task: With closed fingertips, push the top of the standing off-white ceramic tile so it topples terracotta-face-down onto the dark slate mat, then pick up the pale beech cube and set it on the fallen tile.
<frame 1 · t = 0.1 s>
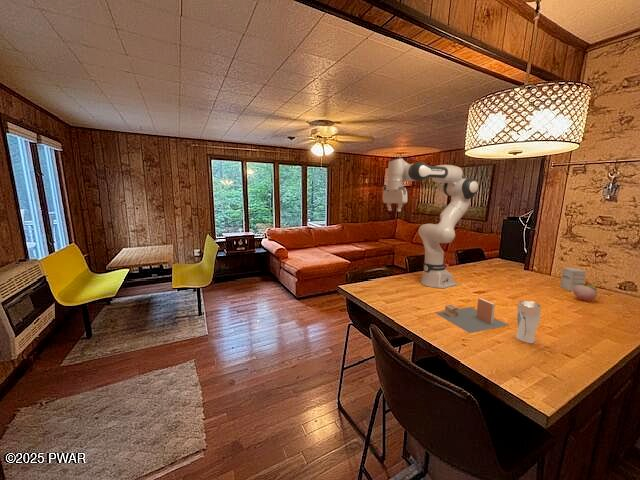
hand: (394, 211, 152), 48 cm above the kitchen island, fingers open, 8 cm apart
decorative fruit: (583, 300, 140), on the kitchen island
supplement box: (571, 289, 158), on the kitchen island
beech cube: (451, 314, 123), point 1 cm above the kitchen island, touching mat
tile: (484, 320, 117), point 1 cm above the kitchen island, touching mat
mat: (470, 319, 119), on the kitchen island
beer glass: (524, 340, 102), on the kitchen island
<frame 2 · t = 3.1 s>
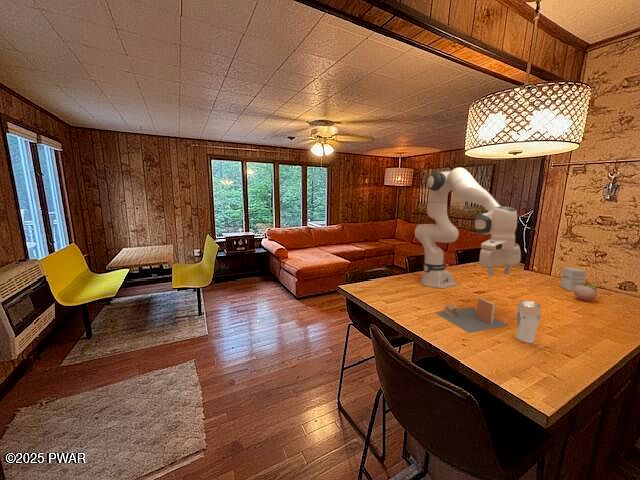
hand: (498, 274, 116), 21 cm above the kitchen island, fingers open, 8 cm apart
nothing on the kitchen island moved.
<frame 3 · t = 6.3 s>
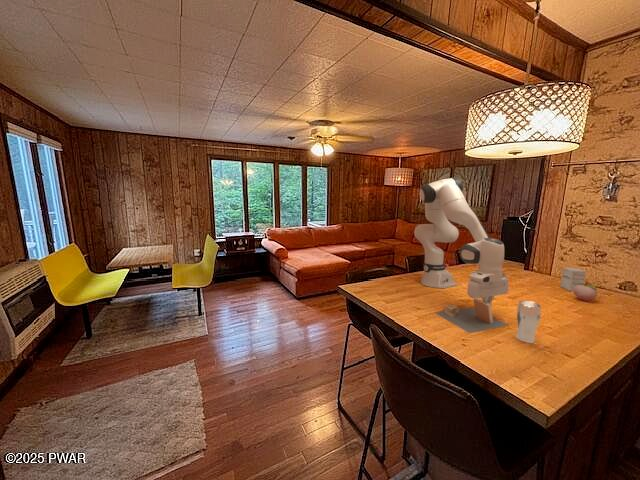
hand: (486, 305, 116), 8 cm above the kitchen island, fingers closed
tile: (484, 319, 117), point 1 cm above the kitchen island, tilted 17°, touching mat
everything else where it was.
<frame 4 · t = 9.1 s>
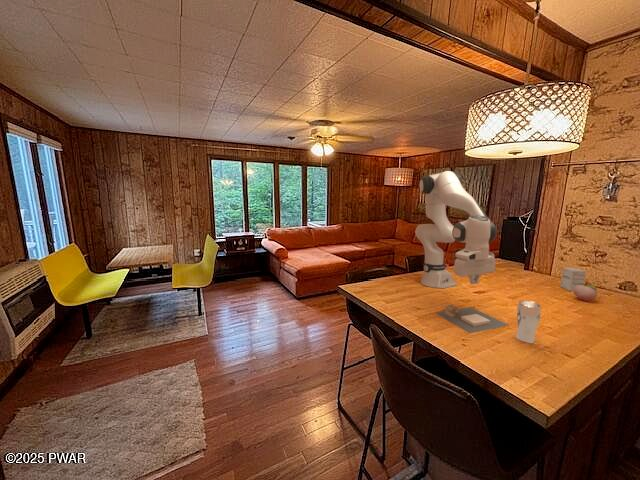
hand: (473, 283, 115), 18 cm above the kitchen island, fingers closed
tile: (483, 318, 117), point 1 cm above the kitchen island, tilted 90°, touching mat
everything else where it was.
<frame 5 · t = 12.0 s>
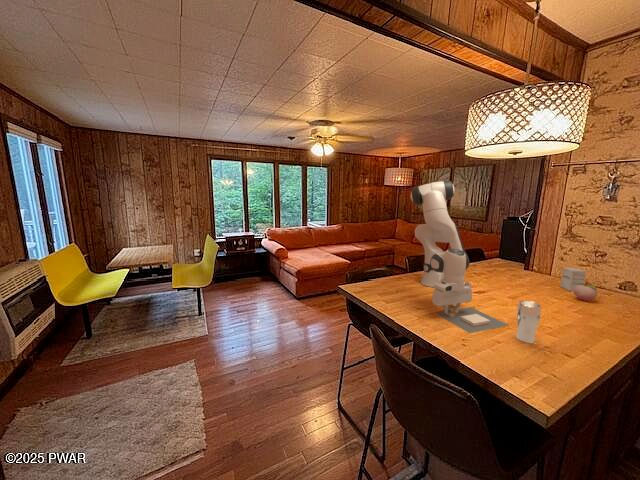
hand: (451, 312, 123), 2 cm above the kitchen island, fingers closed on beech cube, 4 cm apart
beech cube: (451, 314, 123), point 1 cm above the kitchen island, touching gripper, mat
everything else where it was.
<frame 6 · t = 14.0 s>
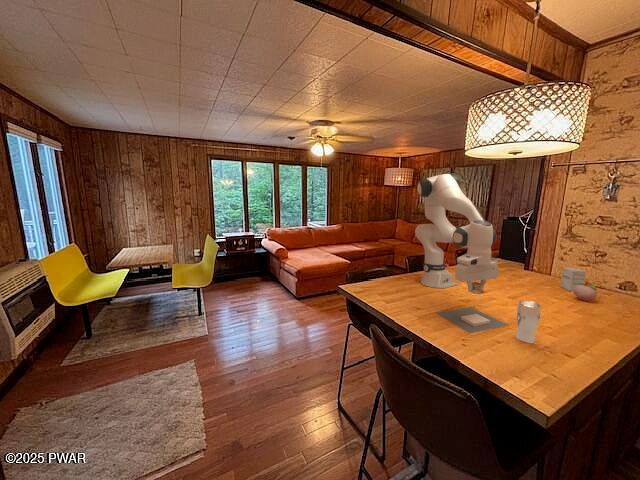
hand: (475, 289, 113), 16 cm above the kitchen island, fingers closed on beech cube, 4 cm apart
beech cube: (475, 292, 114), point 14 cm above the kitchen island, touching gripper
everything else where it was.
when the fingers open (5 cm above the kitchen island, at t = 16.3 s): beech cube drops 1 cm, resting on tile.
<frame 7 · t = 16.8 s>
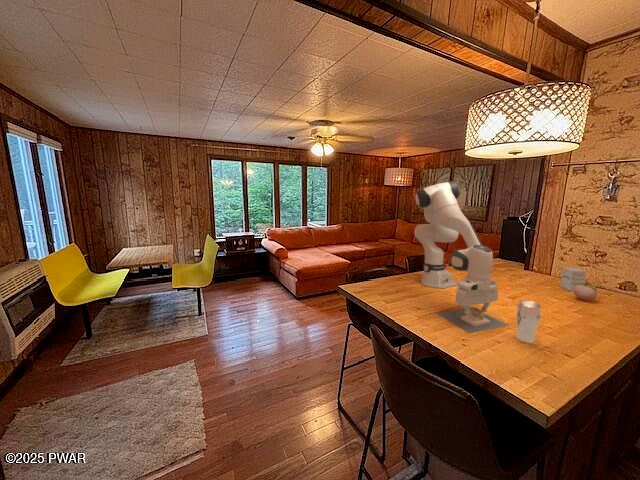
hand: (475, 312, 115), 5 cm above the kitchen island, fingers open, 8 cm apart
beech cube: (475, 318, 115), point 2 cm above the kitchen island, touching tile
tile: (483, 318, 117), point 1 cm above the kitchen island, tilted 90°, touching beech cube, mat
everything else where it was.
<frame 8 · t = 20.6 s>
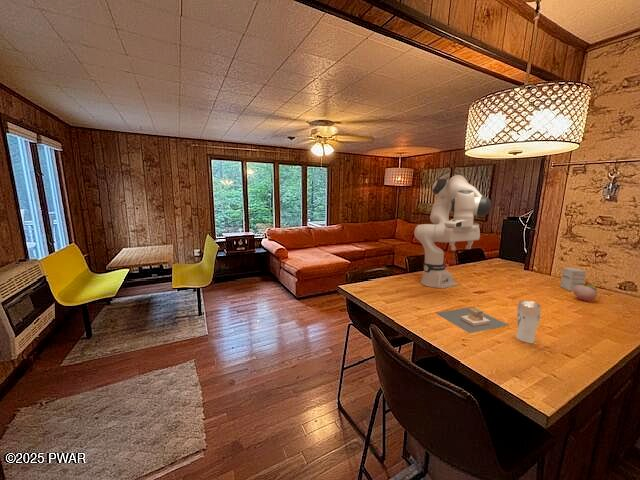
hand: (460, 249, 133), 29 cm above the kitchen island, fingers open, 8 cm apart
nothing on the kitchen island moved.
at the end: tile tilted 90°; beech cube point 2.2 cm above the kitchen island; beech cube 4.5 cm from the tile (horizontally) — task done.
